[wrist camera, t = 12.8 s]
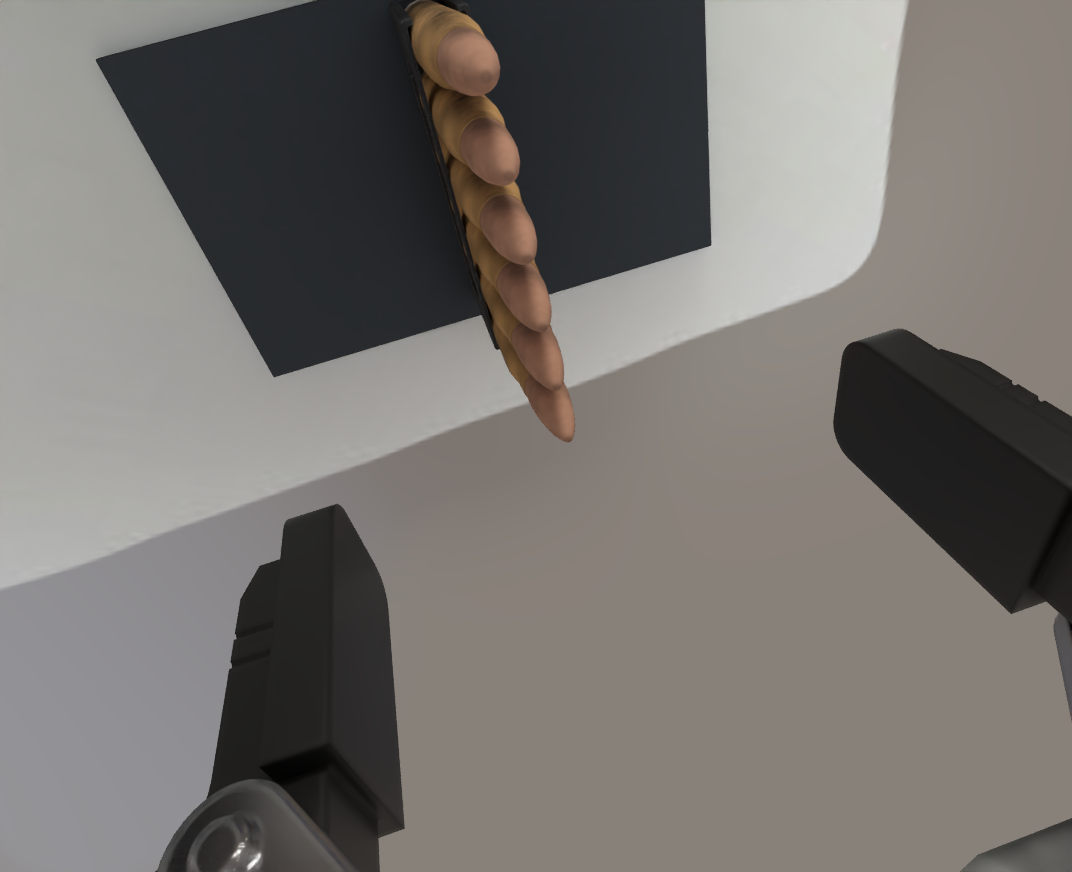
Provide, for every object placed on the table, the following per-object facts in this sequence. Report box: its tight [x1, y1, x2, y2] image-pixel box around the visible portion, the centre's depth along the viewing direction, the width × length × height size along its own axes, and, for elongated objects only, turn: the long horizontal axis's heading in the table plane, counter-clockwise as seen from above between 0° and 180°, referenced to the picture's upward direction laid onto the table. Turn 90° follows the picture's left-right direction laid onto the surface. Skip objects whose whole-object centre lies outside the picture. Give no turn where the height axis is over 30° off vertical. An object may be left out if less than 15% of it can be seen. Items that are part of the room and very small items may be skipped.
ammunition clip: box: [389, 0, 575, 442], centre depth 19 cm, size 11×2×12 cm, turn 12°
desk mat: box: [96, 0, 711, 377], centre depth 24 cm, size 20×12×1 cm, turn 102°
